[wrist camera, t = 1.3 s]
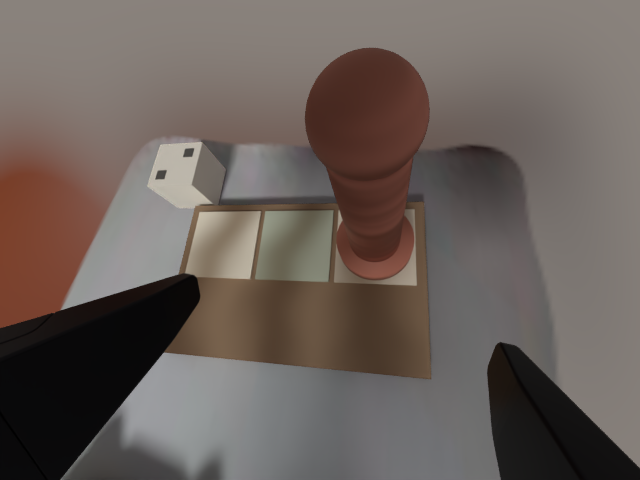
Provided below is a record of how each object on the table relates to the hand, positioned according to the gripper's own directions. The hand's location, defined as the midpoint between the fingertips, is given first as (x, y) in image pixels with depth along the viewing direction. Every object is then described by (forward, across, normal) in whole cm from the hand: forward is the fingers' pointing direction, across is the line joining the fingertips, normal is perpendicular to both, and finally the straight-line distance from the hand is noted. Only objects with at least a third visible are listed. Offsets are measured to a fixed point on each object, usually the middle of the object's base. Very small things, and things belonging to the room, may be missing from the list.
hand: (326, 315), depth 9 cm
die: (+16, +17, +2) cm, 23 cm away
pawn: (+13, 0, +4) cm, 13 cm away
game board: (+11, +6, +7) cm, 14 cm away
